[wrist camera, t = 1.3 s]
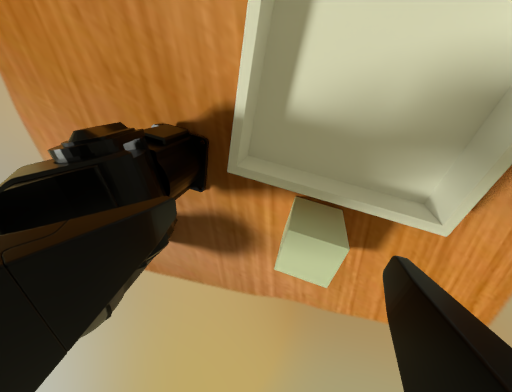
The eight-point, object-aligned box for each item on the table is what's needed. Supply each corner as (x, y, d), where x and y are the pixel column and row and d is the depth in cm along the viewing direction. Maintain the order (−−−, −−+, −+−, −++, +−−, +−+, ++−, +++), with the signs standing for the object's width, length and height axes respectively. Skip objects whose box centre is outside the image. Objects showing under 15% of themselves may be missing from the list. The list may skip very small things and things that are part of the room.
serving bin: (423, 209, 19) (446, 236, 15) (241, 158, 21) (227, 172, 18) (778, -264, 8) (1144, -543, 4) (306, -256, 10) (300, -428, 7)
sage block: (325, 244, 24) (326, 288, 19) (283, 231, 24) (274, 269, 19) (342, 209, 21) (349, 249, 16) (295, 196, 22) (288, 229, 17)
